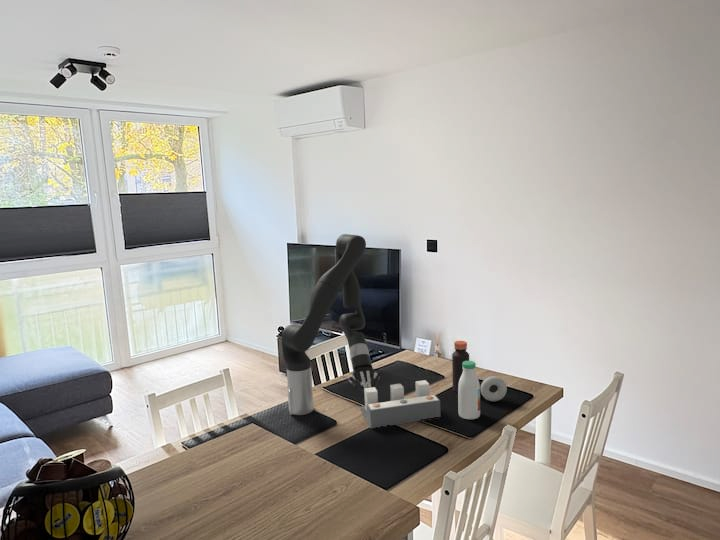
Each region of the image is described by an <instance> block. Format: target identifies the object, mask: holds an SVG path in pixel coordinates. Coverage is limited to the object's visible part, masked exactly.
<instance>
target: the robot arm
mask: <svg viewBox="0 0 720 540" xmlns="http://www.w3.org/2000/svg"><path fill="white" fill-rule="evenodd" d="M366 248H367V243H366V239H365V238H364V237H363V236H361V235H357V234H348V233H344V234H340V235H339V236H338V238H337V239H336V242H335V250H336V256H337V261H338V262H337V263H335V265H334V266H332V267H331V268H329V269H328V270H327V271H326V272H325V273H323V275H321V277H319V279H318V280H317V283H316V284H315V286H314V288H313V289H312V290H311V294H310V299H309V300H310V301H309V310H308V312H307V315H306V317H305V319H304V320H303V322H302V324H301V325H298V324H294V323H293V324H289V325H287V326H286V327H285V328H284V329H283V331H282V334H281V347H282V356H283V360H284V363H285V366H286V378H287V381H286V382H287V386H286V387H287V388H286V389H287V402H288V411H289V415H290V416H292V415H294V416H304V415H308V414H310V413H312V412H313V411H314V410H315V409H314V406H315V405H314V394H313V377H312V376H313V375H312V360H311V358H310V357H309V356H308V355H307V353H306V352H307V351H308V350H309V349H310V348H311V346H312V345H313V343H314V342H315V339H316V338H317V335H318V332H319V330H320V328H321V326H322V323H324V322H323V321H324V319H325V318H326V317H327V314H328V312H329V310H330V309H331V306H333V304H334V302H335V300H336V299H337V297H338V296H339V293H340V291H341V289H342V302H343V303H342V305H343V307H344V308H345V309H348V310H349V309H350V310H354V312H350V313H343V314H341V316H339V320H338V321H339V326H340V328H341V331H342V332H343V334H344V335H345V338H346V340H347V344H348V349H349V357H350V358H349V359H350V362H351V366H352V372H353V373H352V376H350V377H349V378H348V383H350V384H351V385H352V386H353V387H355V389H357V390H358V391H362V392H363V393H364V388H371V387H375V388H376V385H377V384H378V382H379V380H380V377H381V373H379V372H376V371H375V369H374V368H373V364H372V360H371V356H370V352H369V348H368V346H367V341H366V336H365V334H364V333H363V332H360V331H358V330H362V329H364V328H365V325H366V318H365V315H364V311H363V310H362V303H361V287H360V284H359V281H358V279H357V278H358V277H357V276H356V274H355V271H354V268H355V267H356V266H357V264H358V263H359V262H360V260H361V259H362V257H363V255H364V253H365V251H366ZM372 379H374V380H373V382H372ZM371 382H372V383H371ZM363 395H364V394H363ZM364 397H365V395H364Z"/></svg>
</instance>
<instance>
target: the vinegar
mask: <svg viewBox="0 0 720 540" xmlns="http://www.w3.org/2000/svg"><path fill="white" fill-rule="evenodd" d="M467 349H468V342H467V341H464V340H456V341H455V342H454V351H453V353H452V355H451V358H452V361H451V362H452V364H451V366H452V368H451V369H452V371H451V372H452V390H453V391H454V392H456V393H458V384H459V380H460V377H461V375H462V373H463V368H462V363H463V362H464V361H470V353H469V352H467Z"/></svg>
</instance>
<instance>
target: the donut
mask: <svg viewBox="0 0 720 540" xmlns="http://www.w3.org/2000/svg"><path fill="white" fill-rule="evenodd" d="M492 386H496V387H497V390H496V391H495V392H493V391H492V392H491V391H490V388H491V387H492ZM507 390H508V388H507V383H506V382H505V380H503V378H501V377H499V376H497V375H496V376H495V375H492V376H491V375H490V376H488V377H486V378H484V379H483V381H482V382H481V384H480V395H482V397H483V398H484V399H485V400H486V401H488V402H489V401H490V402H498V401H501V400H502V399H503V398H504V397H505V396H506V394H507Z"/></svg>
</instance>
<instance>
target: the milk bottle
mask: <svg viewBox="0 0 720 540" xmlns="http://www.w3.org/2000/svg"><path fill="white" fill-rule="evenodd" d="M476 366H477V365H476V362H475V361H473V360H469V361H464V362H463V363H462V368H463V373H462V375H461V377H460V380H459V384H458V392H457V393H458V394H457V397H458V398H457V399H458V401H457V403H458V407H457V408H458V410H457V411H458V416H459V417H460V418H461V419H465V420H475V419H479V417H481V389H480V388H481V384H480V381H479V378H478V376H477V373H476Z"/></svg>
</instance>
